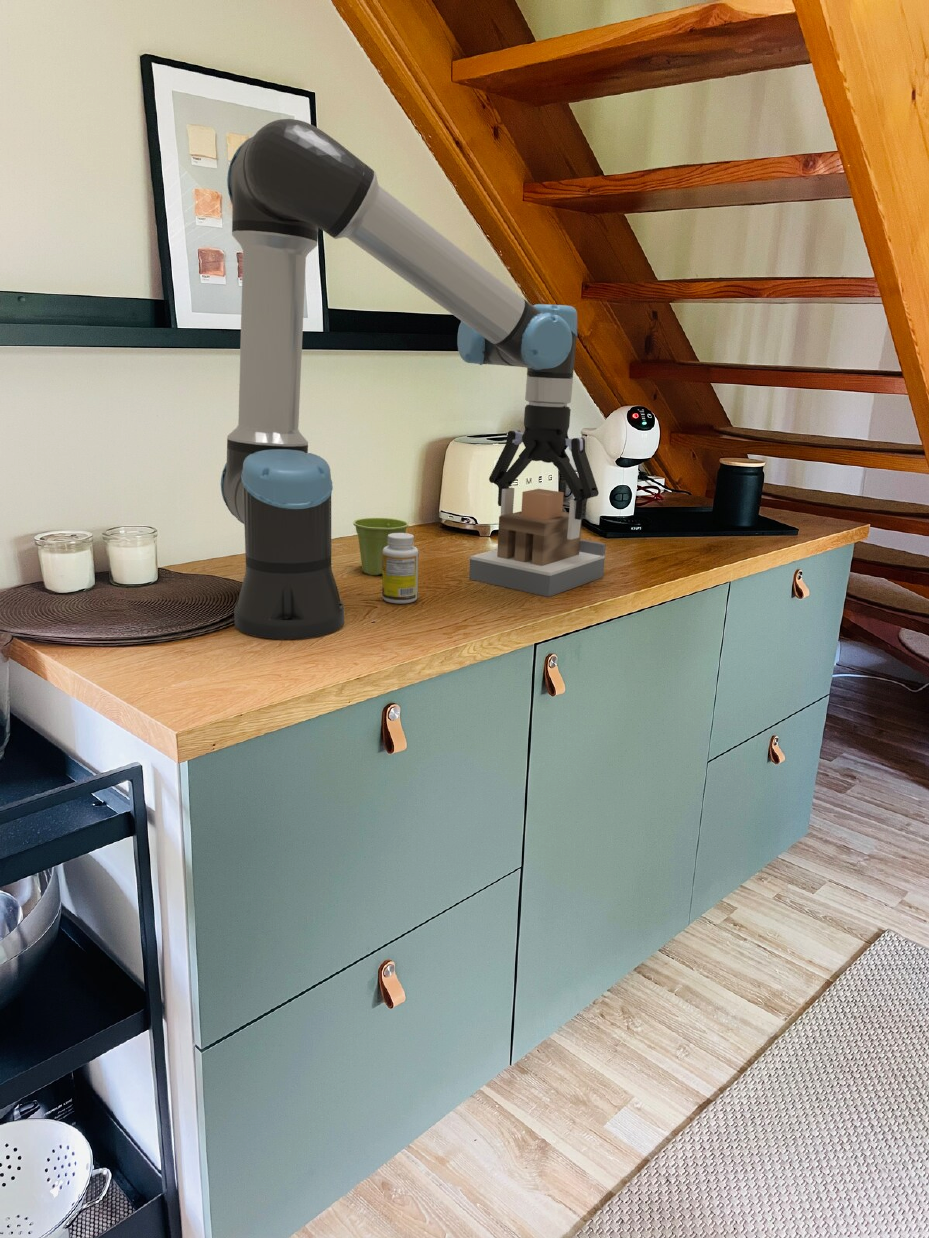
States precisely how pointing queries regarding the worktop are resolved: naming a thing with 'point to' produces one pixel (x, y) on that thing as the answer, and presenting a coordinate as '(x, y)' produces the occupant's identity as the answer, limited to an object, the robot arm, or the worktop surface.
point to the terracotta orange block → (542, 503)
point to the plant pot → (376, 540)
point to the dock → (540, 570)
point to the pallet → (535, 539)
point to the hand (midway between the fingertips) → (538, 532)
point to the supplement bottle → (400, 569)
